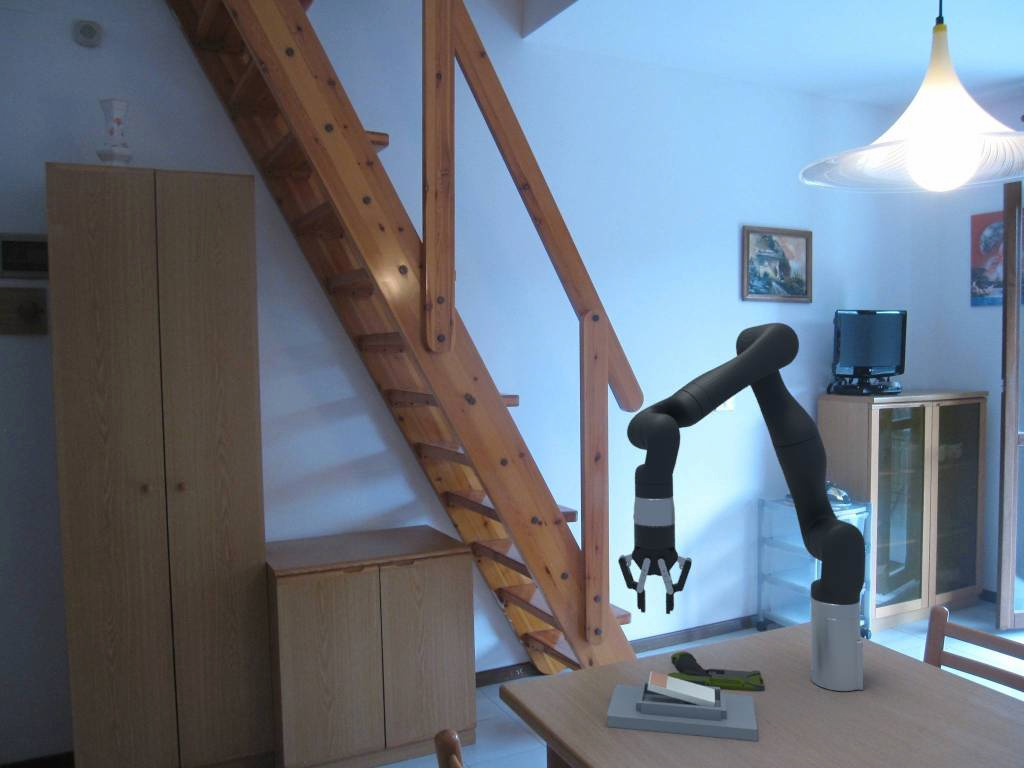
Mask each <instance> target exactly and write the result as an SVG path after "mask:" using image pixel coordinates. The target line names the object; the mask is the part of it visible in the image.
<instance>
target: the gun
mask: <svg viewBox="0 0 1024 768" xmlns="http://www.w3.org/2000/svg"><path fill="white" fill-rule="evenodd" d="M670 659H671V662H672V663H673V664H674V666H675V668H676V669H677V670H678V671H679V672H675V671H674V672H669V673H667V676H670V677H673V678H677V679H680V680H684V681H687V682H691V683H694V684H698V685H701V686H711V687H720V690H732V691H733V690H734V691H744V692H745V691H746V692H764V691H765V689H766V686H765V684H764V678H762V674H761V671H759V670H751V671H748V670H747V671H746V670H733V669H722V668H721V669H720V668H708V669H705V668H703V666H701V665H700V664H699V663H698V662H697V659H696V658H695V656H694V655H693V654H692V653H690V652H688V651H679V652H675V653H673V654H672V655H671V657H670Z"/></svg>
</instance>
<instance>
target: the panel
mask: <svg viewBox="0 0 1024 768" xmlns="http://www.w3.org/2000/svg"><path fill="white" fill-rule="evenodd" d="M648 683H649V680H647V681H644V685H641V684H640V685H639V686H637V685H635V686H634V685H621V684H615V685H614V689H613V692H612V694H611V695H612V696H611V699H610V702H609V706H608V709H607V713H606V727H607V728H617V729H618V728H619V729H627V730H628V729H629V730H640V731H648V732H649V731H650V732H658V733H670V734H681V735H689V736H690V735H691V736H699V737H700V736H701V737H710V738H711V737H712V738H719V739H720V738H722V739H730V740H731V739H733V740H741V741H742V740H743V741H751V742H753V741H754V742H757V741H758V725H757V718H756V710H755V703H754V696H752V695H743V694H731V693H726V692H725V691H721V689H720V687H711V686H705V687H708V688H712V689H715V705H714V707H709V706H701V705H698V704H694V703H691V702H687V701H684V700H680V699H677V698H673V697H670V696H667V695H663V694H660V693H656V692H653V691H649V690H647V688H648Z"/></svg>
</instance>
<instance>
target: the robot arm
mask: <svg viewBox="0 0 1024 768" xmlns="http://www.w3.org/2000/svg"><path fill="white" fill-rule="evenodd" d="M735 341H736V342H735V351H736V356H735V357H733V358H731V359H730V360H728V361H726V362H724V363H722V364H720V365H718V366H716V367H715V368H714V367H713V368H711V369H710V370H708V371H706V372H704V373H702V374H700V375H698V376H697V377H695V378H694V379H692V380H691V381H689V382H688V383H686V384H685V385H684V386H682V387H681V388H680V389H678V390H677V391H676V392H674V393H673V394H671V396H668V397H667V398H664V399H662V400H660V401H658V402H655V403H653V404H651V405H650V406H647V407H645V408H643V409H642V410H641V411H639V412H637V413H636V414H635V415H634V416H633V417H632V418H631V419H630V422H628V425H627V428H626V437H627V439H628V441H629V442H630V444H631V445H632V446H633V447H635V448H637V449H639V450H643V451H644V450H645V451H646V455H645V460H644V463H642V464H640V465H638V466H637V467H636V468H635V470H634V471H635V472H634V503H633V504H634V505H633V517H632V518H633V536H634V537H633V539H634V540H633V543H634V545H633V546H634V547H633V550H632V551H631V553H630V554H627V555H625V554H621V555H620V556H619V558H618V561H617V562H618V565H619V569H620V571H621V574H622V577H623V579H624V581H625V585H626V587H627V589H629V590H634V591H635V592H636V596H637V597H636V598H637V599H636V604H637V606H636V608H637V609H638V610H640V613H646V607H647V606H646V589H645V585H646V580H647V577H648V576H657V577H662V581H663V583H664V587H665V590H666V592H665V614H666V615H671V612H673V611H674V609H675V593H678V592H683V590H684V588H685V585H686V582H687V579H688V576H689V574H690V572H691V571H690V570H691V567H692V563H693V559H692V558H691V557H683V556H680V555H679V553H678V551H677V549H676V510H675V509H676V508H675V501H674V476H673V475H674V471H675V468H676V464H677V460H678V455H679V451H680V445H681V431H680V429H682V428H690V427H692V426H694V425H696V424H697V423H699V422H700V421H702V420H703V419H704V418H706V417H707V416H708V415H710V414H711V413H713V412H714V411H715V410H716V409H718V408H719V407H720V406H722V405H723V404H724V403H725V402H727V401H728V400H730V399H731V398H733V397H734V396H736V395H737V394H739V393H740V392H742V391H743V390H745V389H747V388H748V387H749V386H750V388H751V390H752V392H753V394H754V396H755V399H756V401H757V404H758V407H759V410H760V414H761V415H762V417H763V420H764V423H765V425H766V426H765V427H766V429H767V431H768V433H769V436H770V440H771V444H772V446H773V449H774V452H775V455H776V458H777V461H778V464H779V466H780V468H781V471H782V474H783V476H784V480H785V482H786V485H787V487H788V490H789V492H790V496H791V498H792V502H793V504H794V505H793V506H794V508H795V513H796V517H797V520H798V524H799V529H800V534H801V539H802V543H803V544H804V548H805V549H806V550H807V552H808V553H809V555H811V557H813V558H815V559H816V560H818V561H820V562H821V564H820V565H821V569H820V578H819V579H815V580H813V581H812V583H811V585H810V627H811V628H810V631H811V633H810V634H811V635H810V640H811V641H810V642H811V644H810V647H811V648H810V651H811V653H810V654H811V655H810V656H811V659H810V660H811V668H810V669H811V681H812V682H813V683H814V684H815V685H817V686H818V687H821V688H824V689H826V690H827V689H828V690H829V691H837V692H839V691H840V692H850V691H851V692H852V691H855V690H857V691H858V690H860V691H861V690H862V691H863V690H864V649H863V648H864V645H863V640H862V639H861V593H862V590H863V588H864V585H865V577H866V576H865V572H866V542H865V538H864V535H863V534H862V531H861V530H860V529H859V528H858V527H857V526H856V525H854V524H852V523H849V522H847V521H843V520H840V519H838V517H837V516H836V514H835V512H834V509H833V508H832V504H831V503H830V500H829V497H828V493H827V488H826V477H827V468H828V467H827V463H828V462H827V460H828V459H827V454H826V453H827V452H826V448H825V446H824V442H823V440H822V437H821V434H820V432H819V429H818V427H817V424H816V422H815V421H814V419H813V418H812V416H811V415H810V414H809V413H808V411H807V410H806V409H805V408H804V407H803V405H802V404H801V403H799V402H798V400H797V399H795V396H794V395H792V394H791V392H790V391H789V390H788V387H786V385H785V381H784V380H783V378H782V375H781V372H780V369H783V368H785V367H787V366H789V365H791V364H792V363H793V362H794V360H795V359H796V357H797V356H798V353H799V349H800V340H799V337H798V335H797V333H796V331H795V330H794V329H793V327H791V326H790V325H788V324H785V323H782V322H770V323H764V324H759V325H755V326H751V327H747V328H745V329H743V330H742V331H741V332H740V333H739V334H738V336H737V338H736V340H735ZM632 561H634V563H635V565H636V566H637V567H638V568H639V569H640V575H639V578H638V581H636V580H635V579H634V577H633V574H632V571H631V568H630V567H631V566H632ZM676 563H678V568H679V570H681V572H680V575H679V577H678V581H677V582H675V583H674V582H673V580H672V575H671V572H670V571H671V570H672V568H673V567H674V565H675V564H676Z"/></svg>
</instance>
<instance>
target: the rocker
mask: <svg viewBox="0 0 1024 768" xmlns="http://www.w3.org/2000/svg"><path fill="white" fill-rule="evenodd" d="M648 681H649V683H648V688H647V690H649V691H653V692H656V693H660V694H663V695H667V696H670V697H673V698H677V699H680V700H684V701H687V702H691V703H694V704H698V705H701V706H709V707H714V705H715V689H712V688H708V687H705V686H701V685H698V684H694V683H691V682H687V681H684V680H680V679H677V678H673V677H670V676H668V674H663V673H660V672H656V671H653V670H650V674H649V678H648Z"/></svg>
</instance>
